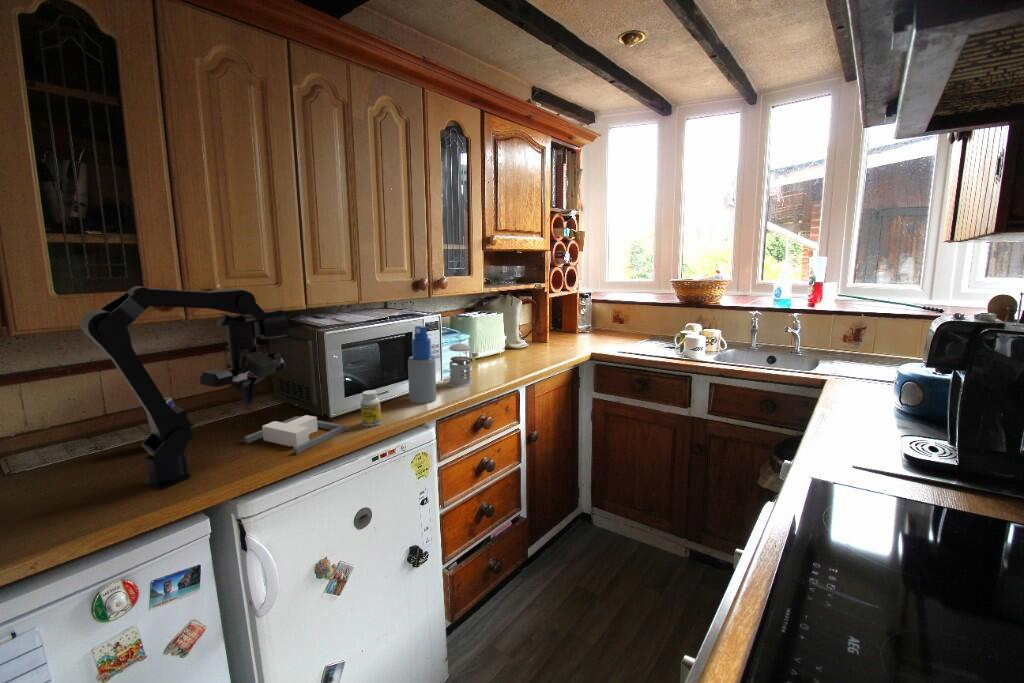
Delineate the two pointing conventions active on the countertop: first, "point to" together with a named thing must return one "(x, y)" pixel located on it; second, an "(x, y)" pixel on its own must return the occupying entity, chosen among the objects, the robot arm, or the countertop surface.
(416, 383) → the spray bottle
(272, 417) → the countertop surface
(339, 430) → the grey rectangular rod frame
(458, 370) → the french press
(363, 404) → the supplement bottle
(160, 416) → the robot arm
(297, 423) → the t block
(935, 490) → the countertop surface
